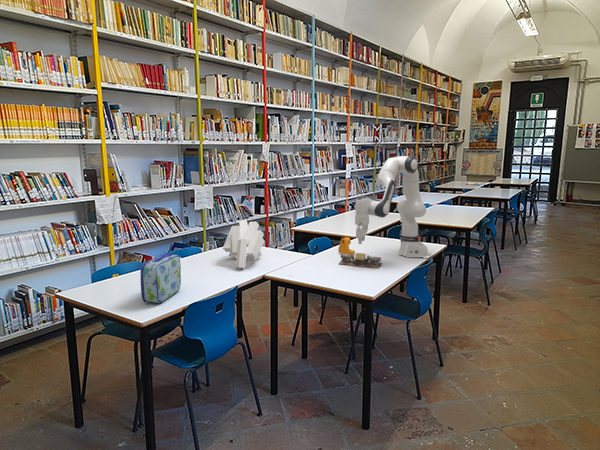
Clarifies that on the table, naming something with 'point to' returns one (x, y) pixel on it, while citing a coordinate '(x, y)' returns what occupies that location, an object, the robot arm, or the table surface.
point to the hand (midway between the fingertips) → (361, 242)
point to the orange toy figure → (345, 246)
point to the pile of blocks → (244, 242)
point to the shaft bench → (347, 261)
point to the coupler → (360, 257)
